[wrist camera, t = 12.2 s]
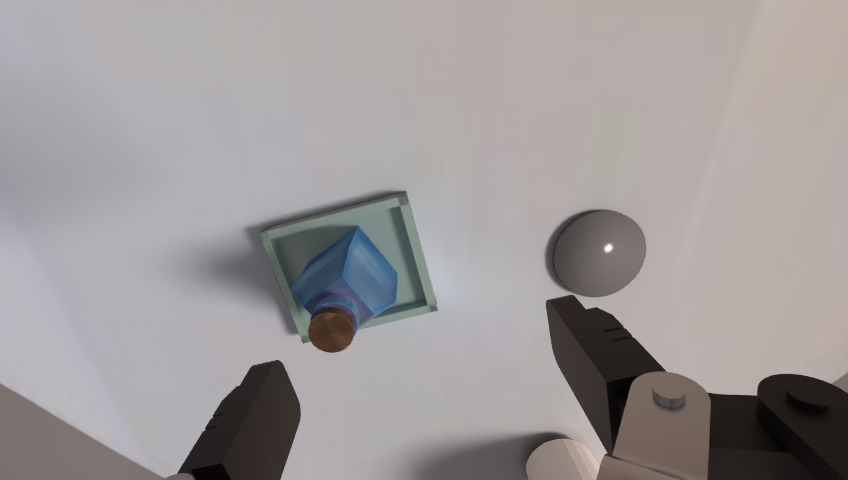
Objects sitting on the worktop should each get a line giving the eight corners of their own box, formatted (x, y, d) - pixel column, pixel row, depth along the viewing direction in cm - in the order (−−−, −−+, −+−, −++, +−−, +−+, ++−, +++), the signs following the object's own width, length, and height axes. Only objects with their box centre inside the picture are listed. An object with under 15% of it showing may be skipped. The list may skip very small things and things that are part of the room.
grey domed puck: (546, 222, 39) (549, 225, 38) (637, 199, 38) (642, 201, 38) (559, 302, 41) (562, 306, 41) (644, 282, 41) (649, 285, 40)
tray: (265, 228, 38) (258, 233, 36) (406, 191, 37) (406, 195, 36) (307, 333, 42) (303, 343, 40) (436, 302, 41) (437, 310, 39)
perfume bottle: (358, 225, 38) (336, 275, 26) (398, 273, 39) (393, 340, 28) (308, 261, 38) (266, 325, 27) (349, 307, 40) (325, 385, 29)
